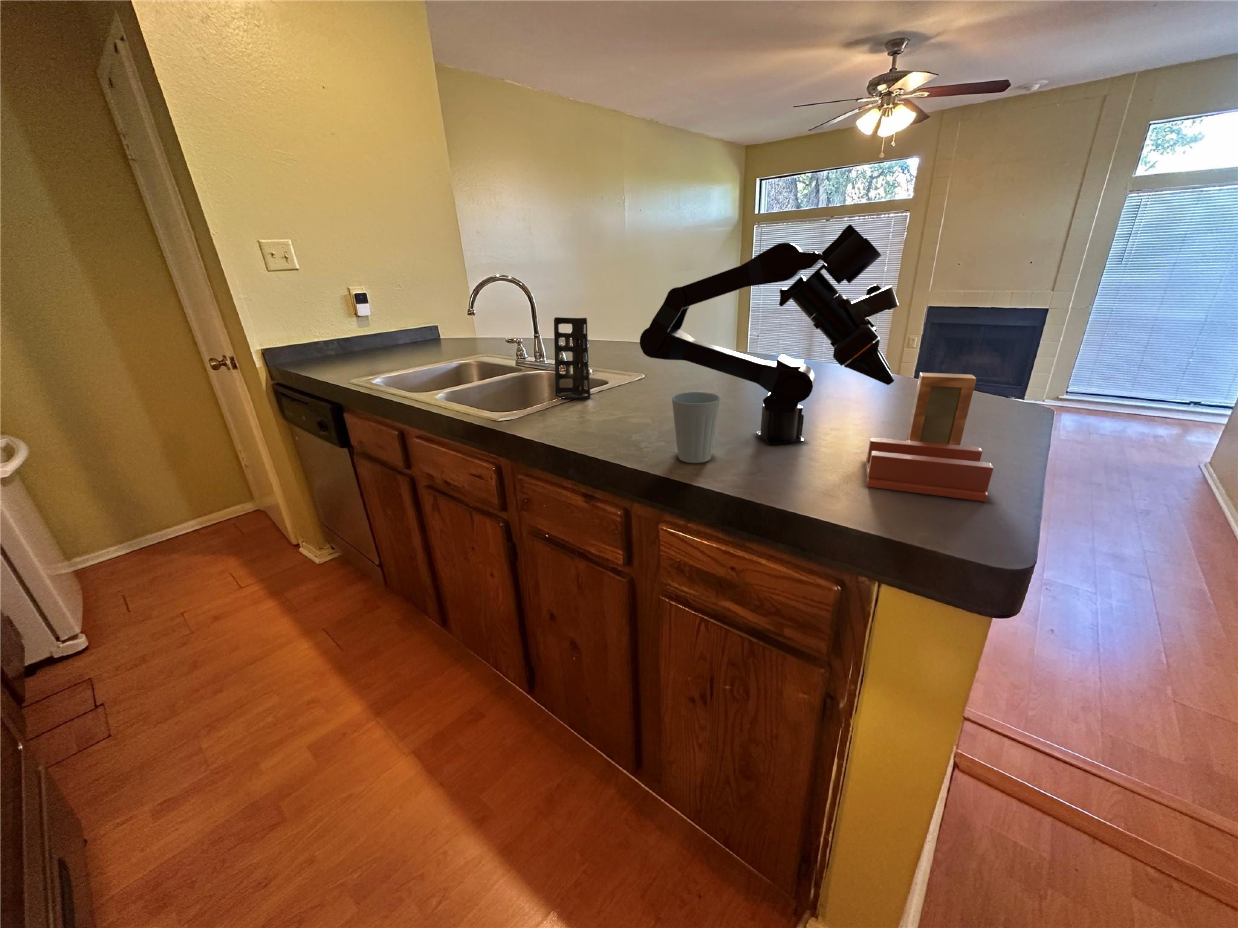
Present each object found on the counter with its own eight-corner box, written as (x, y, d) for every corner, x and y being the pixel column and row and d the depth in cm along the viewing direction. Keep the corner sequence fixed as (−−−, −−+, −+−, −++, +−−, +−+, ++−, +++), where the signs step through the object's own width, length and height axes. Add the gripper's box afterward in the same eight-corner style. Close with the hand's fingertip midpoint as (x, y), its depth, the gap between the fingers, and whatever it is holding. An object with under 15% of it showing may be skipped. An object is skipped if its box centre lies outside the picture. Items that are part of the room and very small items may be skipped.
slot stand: (867, 486, 68) (872, 457, 66) (865, 462, 76) (870, 435, 75) (986, 501, 62) (995, 470, 61) (970, 473, 71) (978, 445, 69)
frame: (906, 454, 79) (922, 376, 74) (904, 448, 81) (919, 372, 76) (956, 459, 76) (976, 378, 71) (953, 453, 79) (972, 374, 74)
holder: (547, 397, 123) (545, 317, 118) (561, 393, 130) (560, 317, 124) (585, 400, 119) (585, 317, 114) (598, 396, 126) (598, 318, 120)
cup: (726, 455, 81) (728, 395, 77) (701, 469, 76) (703, 406, 72) (689, 446, 86) (689, 389, 82) (663, 459, 81) (662, 399, 77)
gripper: (871, 267, 65) (948, 351, 65) (867, 266, 81) (930, 334, 81) (803, 326, 71) (874, 403, 71) (812, 315, 87) (870, 378, 87)
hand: (889, 377), depth 77 cm, fingers open, 9 cm apart
